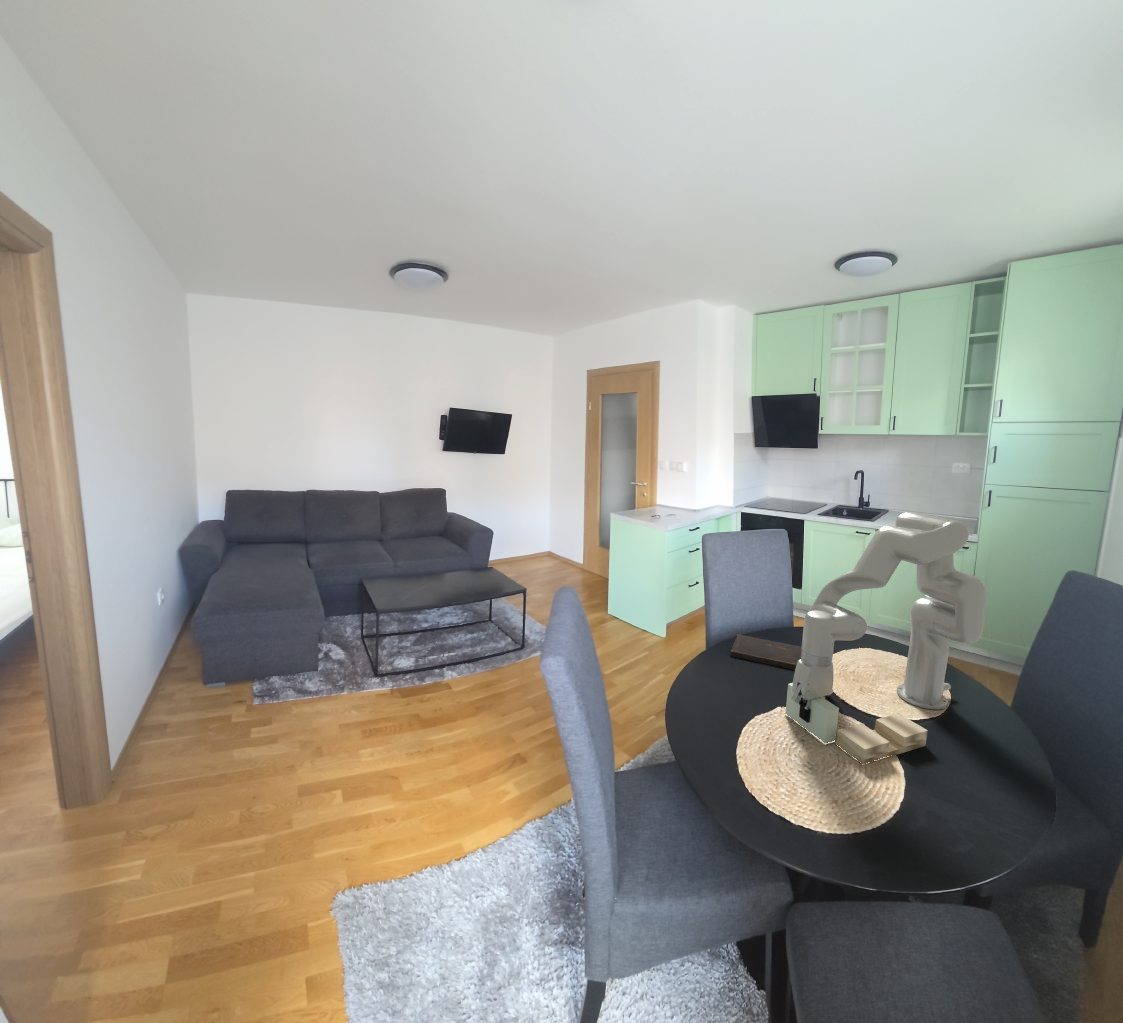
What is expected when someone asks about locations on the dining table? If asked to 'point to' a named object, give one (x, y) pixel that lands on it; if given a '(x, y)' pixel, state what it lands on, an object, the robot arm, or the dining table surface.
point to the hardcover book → (766, 651)
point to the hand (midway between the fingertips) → (810, 717)
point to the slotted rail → (881, 738)
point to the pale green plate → (815, 716)
